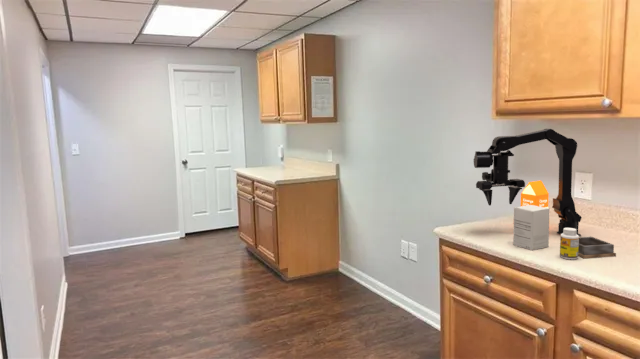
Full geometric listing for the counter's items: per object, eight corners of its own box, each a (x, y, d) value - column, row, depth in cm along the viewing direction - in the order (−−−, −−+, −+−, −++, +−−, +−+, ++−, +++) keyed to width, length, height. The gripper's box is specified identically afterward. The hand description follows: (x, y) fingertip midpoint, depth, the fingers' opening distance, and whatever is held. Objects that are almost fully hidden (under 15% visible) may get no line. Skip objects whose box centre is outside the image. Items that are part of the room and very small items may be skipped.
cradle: (591, 246, 165) (591, 236, 165) (615, 256, 153) (616, 245, 153) (561, 248, 164) (561, 238, 163) (583, 258, 152) (584, 247, 151)
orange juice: (519, 224, 201) (520, 181, 198) (532, 222, 205) (533, 179, 202) (535, 228, 194) (536, 183, 191) (548, 225, 198) (549, 181, 195)
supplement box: (529, 241, 174) (530, 204, 172) (549, 247, 166) (550, 208, 164) (512, 244, 171) (513, 206, 169) (531, 250, 163) (533, 210, 161)
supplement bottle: (556, 255, 156) (557, 227, 155) (572, 254, 156) (573, 226, 155) (565, 260, 151) (566, 231, 149) (581, 259, 151) (582, 230, 149)
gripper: (510, 164, 190) (510, 200, 192) (469, 166, 188) (469, 202, 190) (526, 166, 179) (525, 204, 181) (483, 169, 177) (482, 207, 179)
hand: (500, 204), depth 183 cm, fingers open, 9 cm apart
